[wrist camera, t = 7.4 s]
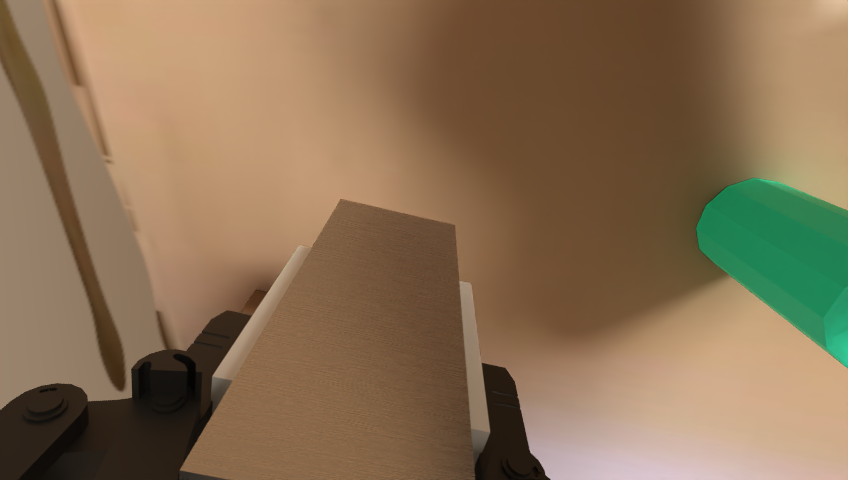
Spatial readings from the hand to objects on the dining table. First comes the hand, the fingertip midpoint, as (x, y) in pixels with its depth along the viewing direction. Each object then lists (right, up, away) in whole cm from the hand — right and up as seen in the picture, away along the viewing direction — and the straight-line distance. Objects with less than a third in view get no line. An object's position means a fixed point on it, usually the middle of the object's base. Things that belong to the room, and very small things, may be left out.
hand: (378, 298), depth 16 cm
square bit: (0, +1, +3) cm, 3 cm away
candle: (+22, +3, +13) cm, 25 cm away
